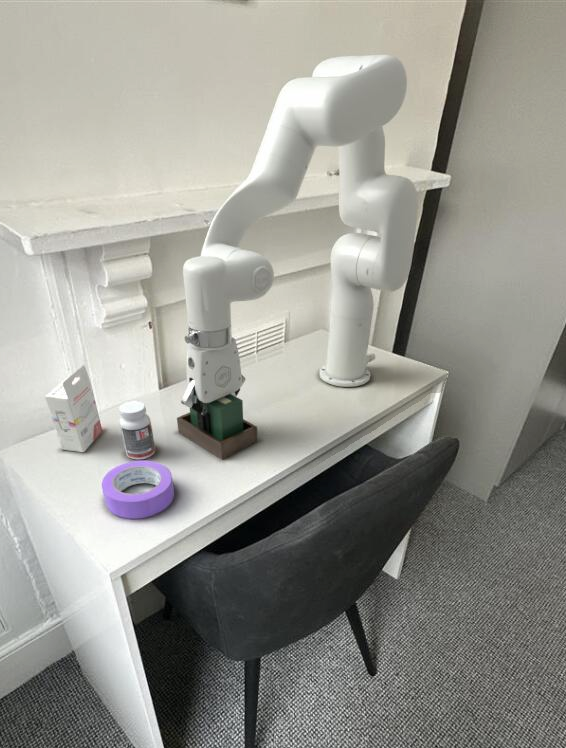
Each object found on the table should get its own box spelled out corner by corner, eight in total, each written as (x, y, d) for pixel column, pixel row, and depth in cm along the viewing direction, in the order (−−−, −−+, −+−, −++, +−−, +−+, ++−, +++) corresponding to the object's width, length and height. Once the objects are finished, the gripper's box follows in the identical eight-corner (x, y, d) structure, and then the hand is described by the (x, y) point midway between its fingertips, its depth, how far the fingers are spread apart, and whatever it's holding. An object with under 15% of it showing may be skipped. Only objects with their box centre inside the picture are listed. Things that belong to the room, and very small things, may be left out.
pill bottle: (161, 453, 97) (154, 407, 90) (135, 464, 94) (126, 417, 87) (146, 441, 100) (138, 396, 94) (120, 451, 97) (110, 406, 91)
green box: (243, 432, 99) (242, 399, 94) (222, 442, 96) (220, 408, 91) (211, 414, 104) (209, 382, 100) (191, 423, 101) (187, 391, 97)
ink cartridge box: (81, 428, 104) (63, 361, 94) (103, 431, 103) (87, 363, 94) (60, 450, 97) (38, 380, 88) (83, 453, 97) (64, 383, 87)
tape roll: (188, 495, 86) (186, 478, 84) (133, 528, 80) (129, 510, 77) (146, 470, 92) (143, 452, 90) (92, 498, 86) (87, 480, 83)
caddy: (213, 417, 108) (212, 402, 105) (257, 441, 100) (257, 426, 98) (178, 432, 103) (176, 417, 100) (222, 459, 95) (220, 444, 93)
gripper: (184, 354, 81) (194, 447, 93) (259, 328, 90) (260, 416, 102) (158, 341, 85) (171, 432, 97) (232, 318, 95) (236, 403, 106)
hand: (216, 423), depth 99 cm, fingers closed on green box, 5 cm apart
